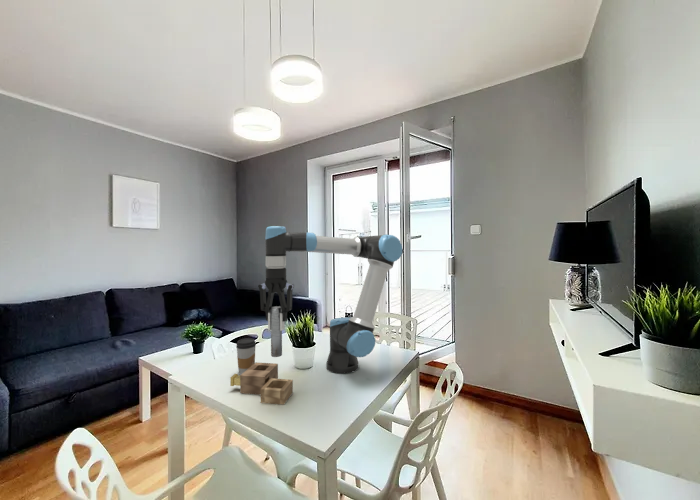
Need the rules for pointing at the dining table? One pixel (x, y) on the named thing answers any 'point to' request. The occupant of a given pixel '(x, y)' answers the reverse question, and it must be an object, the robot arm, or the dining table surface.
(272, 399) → the block
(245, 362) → the coffee cup
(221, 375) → the dining table surface
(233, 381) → the drift key
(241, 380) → the socket block
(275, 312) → the grey metal rod
